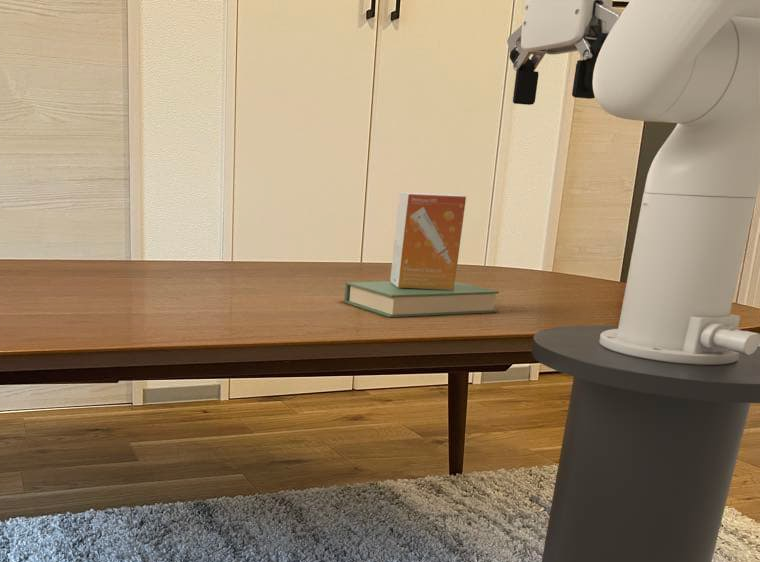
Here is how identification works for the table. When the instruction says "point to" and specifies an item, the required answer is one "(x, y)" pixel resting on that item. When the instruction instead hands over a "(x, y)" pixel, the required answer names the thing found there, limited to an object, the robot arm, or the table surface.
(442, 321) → the table surface
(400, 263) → the small box
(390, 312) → the book
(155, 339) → the table surface
